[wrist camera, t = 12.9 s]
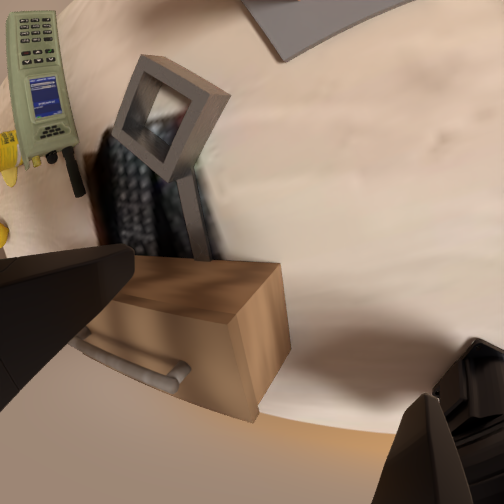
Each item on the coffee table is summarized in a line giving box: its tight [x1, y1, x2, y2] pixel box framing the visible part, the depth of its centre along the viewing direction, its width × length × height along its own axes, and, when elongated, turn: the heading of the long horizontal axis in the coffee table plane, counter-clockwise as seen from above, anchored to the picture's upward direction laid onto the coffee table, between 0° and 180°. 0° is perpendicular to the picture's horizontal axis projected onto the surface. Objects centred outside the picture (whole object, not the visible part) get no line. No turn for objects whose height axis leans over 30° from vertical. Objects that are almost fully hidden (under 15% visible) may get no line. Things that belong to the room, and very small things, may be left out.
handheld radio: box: [6, 11, 86, 198], centre depth 23 cm, size 7×3×25 cm
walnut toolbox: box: [67, 255, 291, 423], centre depth 24 cm, size 21×9×10 cm, turn 100°
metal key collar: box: [111, 54, 231, 262], centre depth 21 cm, size 12×13×2 cm
